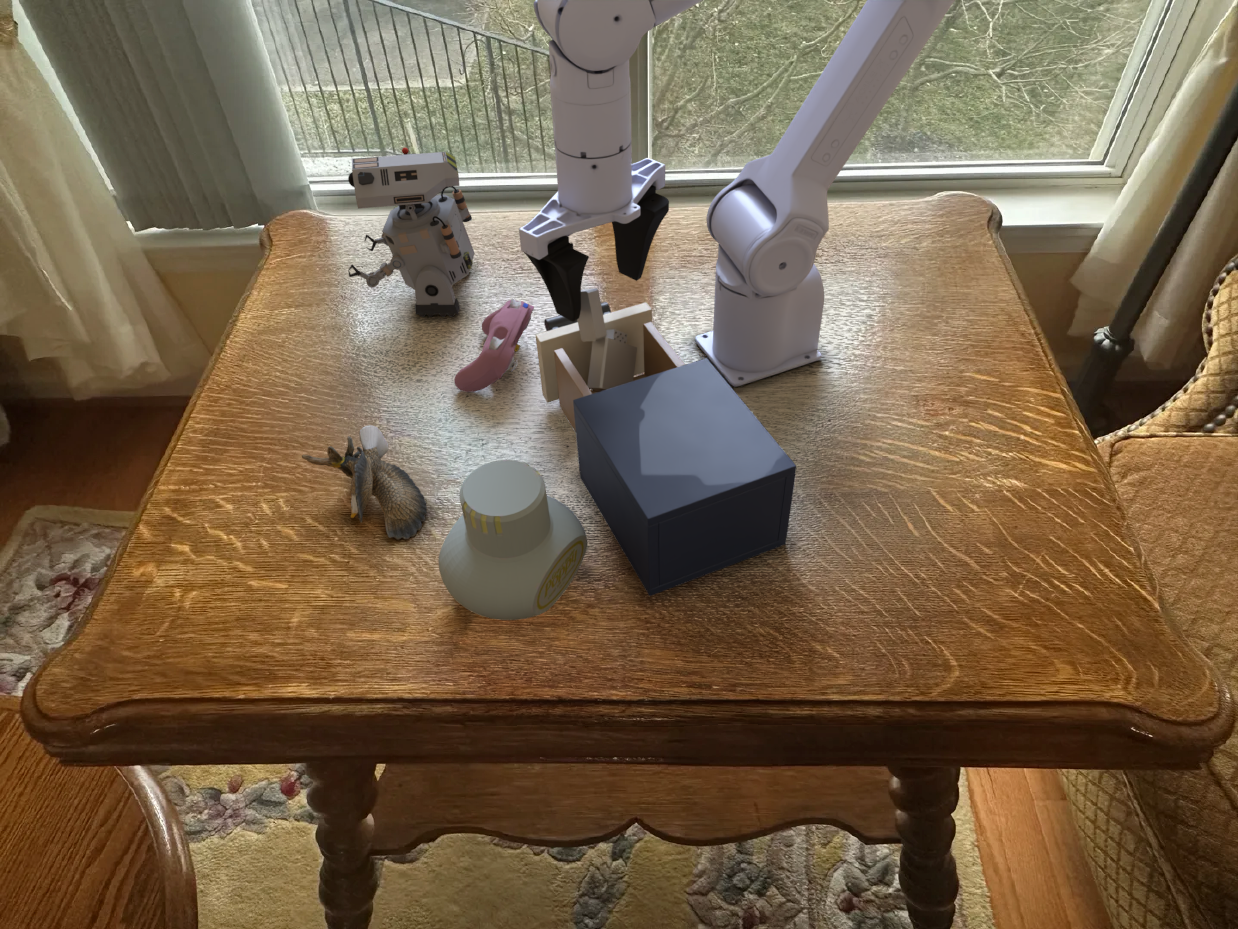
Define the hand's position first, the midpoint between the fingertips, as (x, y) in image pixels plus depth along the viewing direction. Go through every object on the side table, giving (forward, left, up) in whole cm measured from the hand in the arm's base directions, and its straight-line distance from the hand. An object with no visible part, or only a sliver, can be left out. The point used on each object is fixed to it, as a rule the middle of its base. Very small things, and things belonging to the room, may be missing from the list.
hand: (599, 294), depth 79 cm
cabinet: (+1, +17, -10) cm, 19 cm away
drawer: (+1, +4, -9) cm, 10 cm away
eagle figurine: (+23, +6, -10) cm, 26 cm away
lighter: (+3, +5, -6) cm, 8 cm away
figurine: (+11, -22, -10) cm, 27 cm away
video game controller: (+8, -7, -10) cm, 15 cm away
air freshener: (+15, +18, -10) cm, 25 cm away
